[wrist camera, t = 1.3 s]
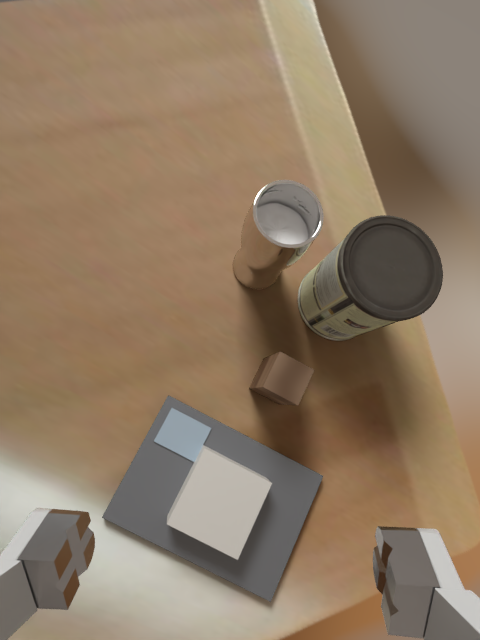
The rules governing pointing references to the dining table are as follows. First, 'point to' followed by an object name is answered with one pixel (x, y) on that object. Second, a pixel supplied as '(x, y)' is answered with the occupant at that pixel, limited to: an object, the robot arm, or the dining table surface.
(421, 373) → the dining table surface
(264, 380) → the walnut column
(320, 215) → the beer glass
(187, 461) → the build base
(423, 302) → the coffee can
